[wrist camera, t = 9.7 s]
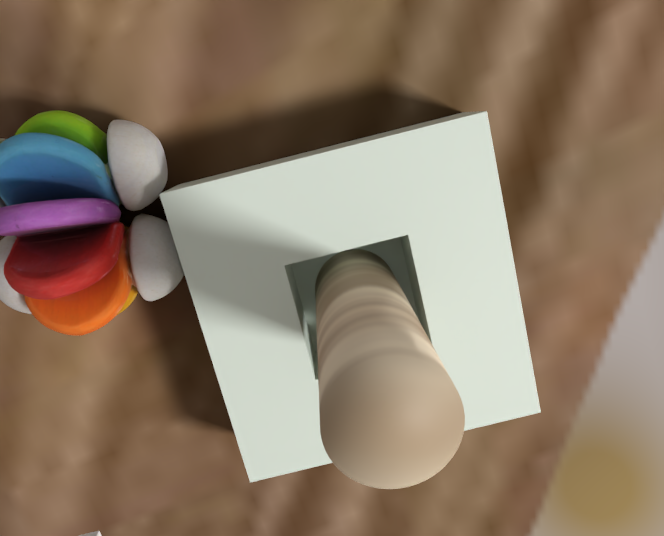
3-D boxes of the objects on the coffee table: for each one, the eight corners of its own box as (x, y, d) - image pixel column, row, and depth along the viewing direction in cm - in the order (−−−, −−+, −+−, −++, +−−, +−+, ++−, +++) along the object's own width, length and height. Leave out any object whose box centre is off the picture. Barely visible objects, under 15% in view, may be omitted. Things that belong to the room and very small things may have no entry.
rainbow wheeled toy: (32, 319, 31) (-50, 377, 24) (-19, 123, 29) (-126, 124, 22) (199, 296, 31) (166, 349, 24) (162, 99, 29) (114, 93, 22)
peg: (306, 260, 30) (303, 376, 16) (385, 240, 30) (449, 340, 16) (326, 335, 31) (339, 503, 17) (403, 316, 31) (477, 469, 17)
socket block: (178, 184, 29) (159, 194, 26) (463, 112, 29) (486, 111, 25) (257, 439, 33) (250, 482, 29) (512, 377, 32) (540, 412, 29)
